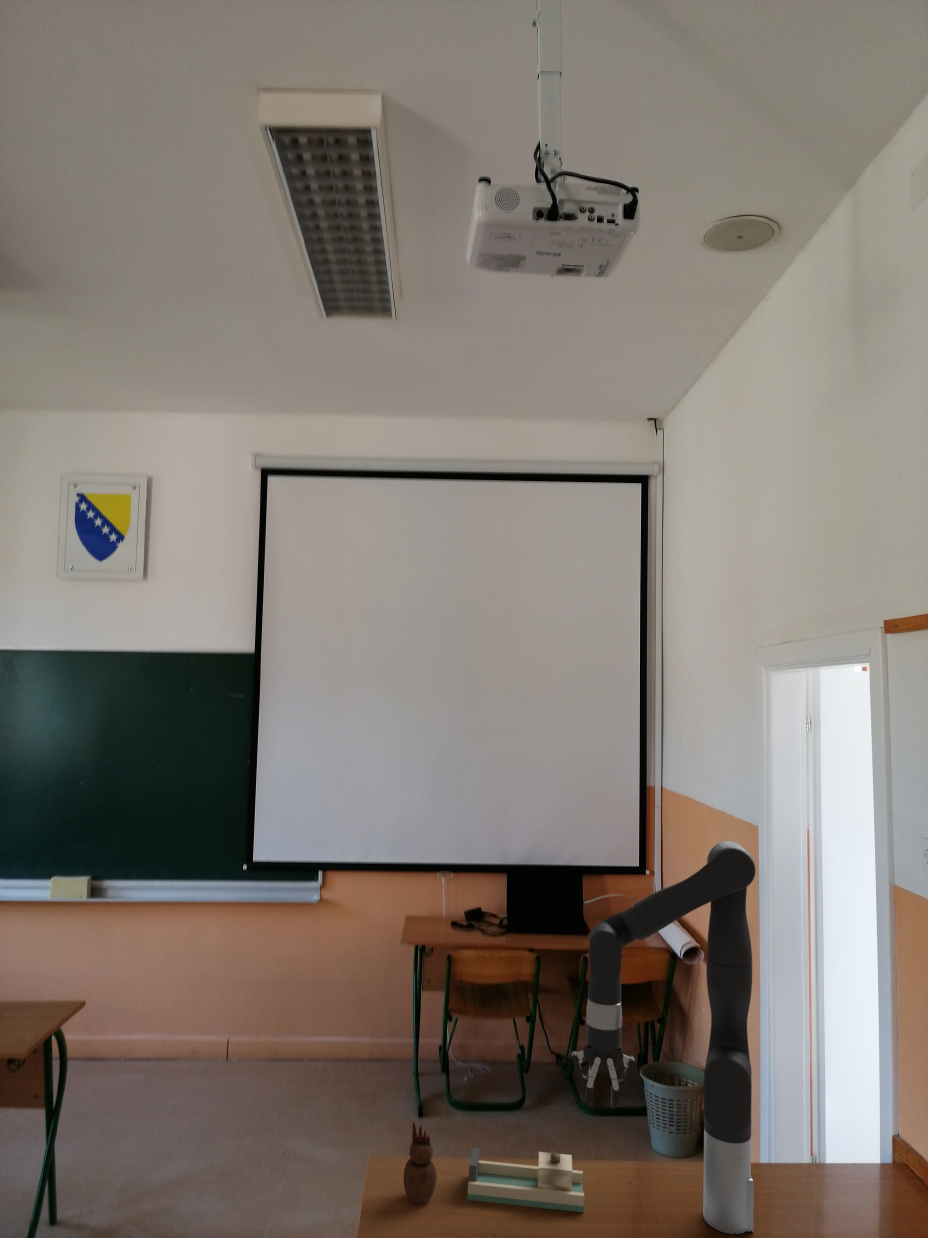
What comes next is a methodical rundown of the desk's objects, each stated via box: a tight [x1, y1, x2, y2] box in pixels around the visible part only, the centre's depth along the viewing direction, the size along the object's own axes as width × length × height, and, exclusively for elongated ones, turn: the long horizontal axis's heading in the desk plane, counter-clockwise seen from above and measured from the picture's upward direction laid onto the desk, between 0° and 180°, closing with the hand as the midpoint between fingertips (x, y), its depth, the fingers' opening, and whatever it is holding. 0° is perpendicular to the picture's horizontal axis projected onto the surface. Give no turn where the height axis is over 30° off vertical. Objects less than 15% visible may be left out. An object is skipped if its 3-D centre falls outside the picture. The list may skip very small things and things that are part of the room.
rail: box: [467, 1147, 585, 1213], centre depth 174 cm, size 24×9×6 cm, turn 84°
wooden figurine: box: [403, 1121, 438, 1205], centre depth 171 cm, size 7×6×15 cm
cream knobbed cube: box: [538, 1151, 573, 1192], centre depth 174 cm, size 7×6×7 cm
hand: (602, 1105), depth 174 cm, fingers open, 4 cm apart
